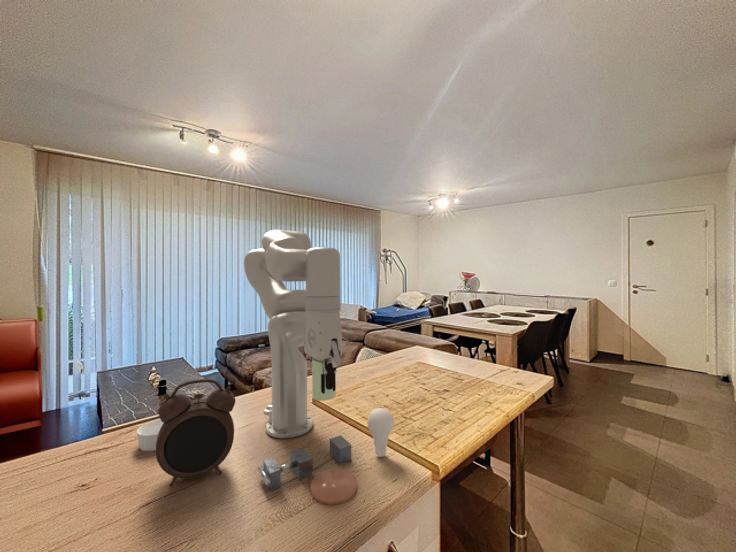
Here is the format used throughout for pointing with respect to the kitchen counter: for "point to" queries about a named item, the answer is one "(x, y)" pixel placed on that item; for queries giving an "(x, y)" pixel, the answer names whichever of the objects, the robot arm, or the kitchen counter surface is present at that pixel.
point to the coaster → (334, 486)
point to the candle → (317, 382)
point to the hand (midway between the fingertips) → (324, 388)
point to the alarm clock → (195, 432)
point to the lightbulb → (380, 429)
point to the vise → (302, 463)
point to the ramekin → (149, 435)
